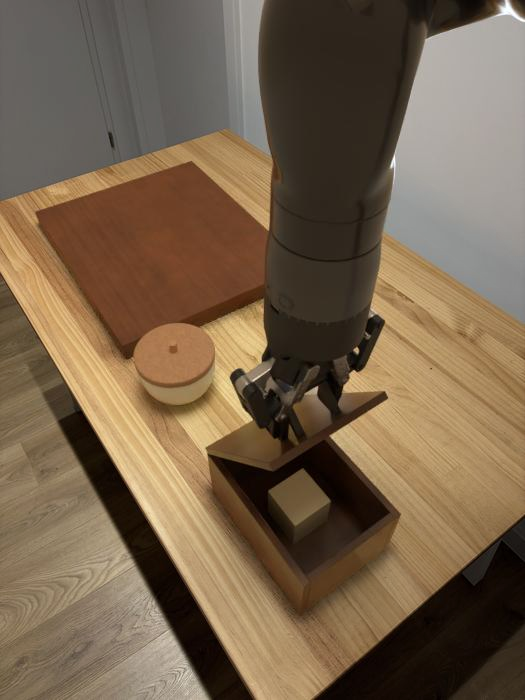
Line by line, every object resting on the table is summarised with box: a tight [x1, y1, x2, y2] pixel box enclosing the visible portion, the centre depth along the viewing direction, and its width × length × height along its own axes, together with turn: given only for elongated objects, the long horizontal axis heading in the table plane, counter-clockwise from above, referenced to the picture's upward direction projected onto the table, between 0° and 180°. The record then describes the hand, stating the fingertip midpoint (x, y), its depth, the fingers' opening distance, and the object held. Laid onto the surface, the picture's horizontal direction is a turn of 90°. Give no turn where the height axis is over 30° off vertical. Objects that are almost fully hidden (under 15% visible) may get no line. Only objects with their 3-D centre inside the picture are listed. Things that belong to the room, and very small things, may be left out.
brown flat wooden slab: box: [34, 160, 269, 360], centre depth 98 cm, size 40×3×33 cm
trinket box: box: [132, 323, 216, 406], centre depth 75 cm, size 11×11×9 cm
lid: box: [204, 373, 389, 471], centre depth 55 cm, size 18×13×5 cm
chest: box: [206, 435, 402, 616], centre depth 62 cm, size 18×13×9 cm
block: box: [268, 468, 331, 544], centre depth 63 cm, size 5×5×5 cm
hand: (302, 417), depth 50 cm, fingers closed on lid, 5 cm apart
